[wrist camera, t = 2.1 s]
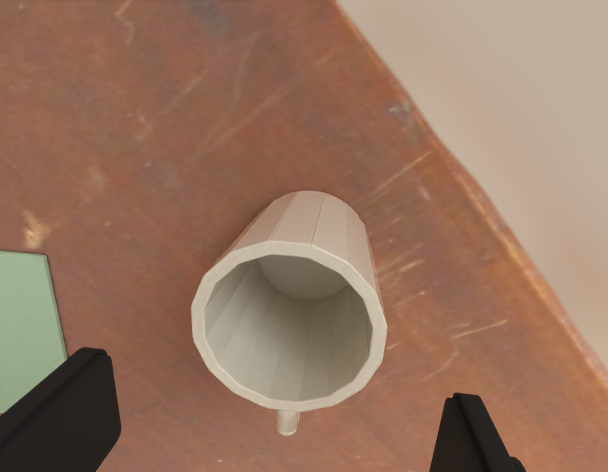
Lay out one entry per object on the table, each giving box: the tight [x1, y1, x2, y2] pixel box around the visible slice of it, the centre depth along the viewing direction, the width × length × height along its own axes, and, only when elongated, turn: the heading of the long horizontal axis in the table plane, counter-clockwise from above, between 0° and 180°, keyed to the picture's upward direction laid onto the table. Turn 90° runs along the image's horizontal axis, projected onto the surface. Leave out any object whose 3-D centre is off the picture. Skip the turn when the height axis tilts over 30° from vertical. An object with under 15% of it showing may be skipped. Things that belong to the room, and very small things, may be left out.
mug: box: [191, 190, 387, 436], centre depth 17 cm, size 10×7×8 cm
